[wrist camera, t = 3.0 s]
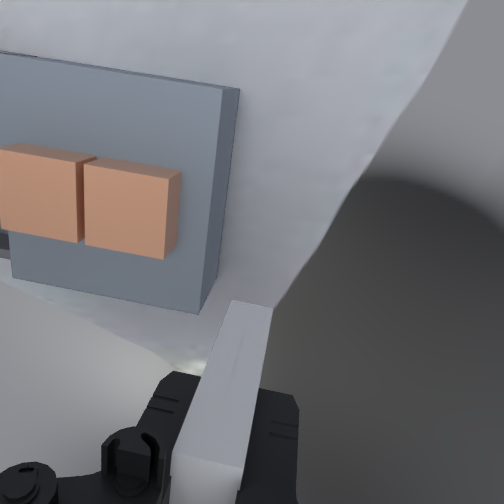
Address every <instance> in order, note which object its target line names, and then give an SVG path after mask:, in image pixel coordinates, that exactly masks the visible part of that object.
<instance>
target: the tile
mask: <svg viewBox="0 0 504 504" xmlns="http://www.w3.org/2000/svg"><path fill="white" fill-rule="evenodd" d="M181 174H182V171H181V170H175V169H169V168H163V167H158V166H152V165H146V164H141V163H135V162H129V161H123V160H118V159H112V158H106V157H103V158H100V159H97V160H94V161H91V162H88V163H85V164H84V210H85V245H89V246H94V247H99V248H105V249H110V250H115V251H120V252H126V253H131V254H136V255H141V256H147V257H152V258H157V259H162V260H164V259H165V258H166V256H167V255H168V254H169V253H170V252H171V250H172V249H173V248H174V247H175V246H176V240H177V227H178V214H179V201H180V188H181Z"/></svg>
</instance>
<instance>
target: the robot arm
mask: <svg viewBox="0 0 504 504" xmlns="http://www.w3.org/2000/svg"><path fill="white" fill-rule="evenodd" d="M272 313H273V308H270V307H265V306H260V305H255V304H250V303H245V302H240V301H235V300H231V303H230V305H229V308H228V310H227V313H226V315H225V318H224V321H223V323H222V326H221V328H220V331H219V333H218V336H217V339H216V341H215V344H214V346H213V349H212V351H211V354H210V356H209V359H208V362H207V364H206V367H205V369H204V372H203V374H202V377H200V376H195V375H191V374H186V373H181V372H177V371H172V372H171V373H170V374H169V375H167V376H166V377H165V378H163V379H162V380H161V381H160V382H159V384H158V386H157V388H156V390H155V392H154V394H153V397H152V398H151V400H150V401H149V403H148V405H147V408H146V409H145V411H144V413H143V414H142V416H141V418H140V420H139V422H138V424H137V426H136V427H129V428H125V429H121V430H119V431H117V432H115V433H114V434H112V435H110V436H109V437H108V438H107V439H106V441H105V442H104V443H103V444H102V446H101V457H102V458H101V471H99V472H96V473H94V474H90V475H84V476H75V477H63V478H56V474H55V472H54V471H53V470H52V469H51V468H50V467H49V466H48V465H46V464H42V463H39V462H27V463H21V464H18V465H15V466H12V467H10V468H8V469H6V470H5V471H3V472H2V473H0V504H298V502H297V499H296V473H297V450H298V449H297V448H298V426H299V408H298V406H297V404H296V402H295V400H294V397H293V395H289V394H284V393H280V392H275V391H270V390H265V389H261V388H259V383H260V378H261V372H262V367H263V361H264V356H265V351H266V345H267V340H268V334H269V328H270V323H271V318H272Z"/></svg>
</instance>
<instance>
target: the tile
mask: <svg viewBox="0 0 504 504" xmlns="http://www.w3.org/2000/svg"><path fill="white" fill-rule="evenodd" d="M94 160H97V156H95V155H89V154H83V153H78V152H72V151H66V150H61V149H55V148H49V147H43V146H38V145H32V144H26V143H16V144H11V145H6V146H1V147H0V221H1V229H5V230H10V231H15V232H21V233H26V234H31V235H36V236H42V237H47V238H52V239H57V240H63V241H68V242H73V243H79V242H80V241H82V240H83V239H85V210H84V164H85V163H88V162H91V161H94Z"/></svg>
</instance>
